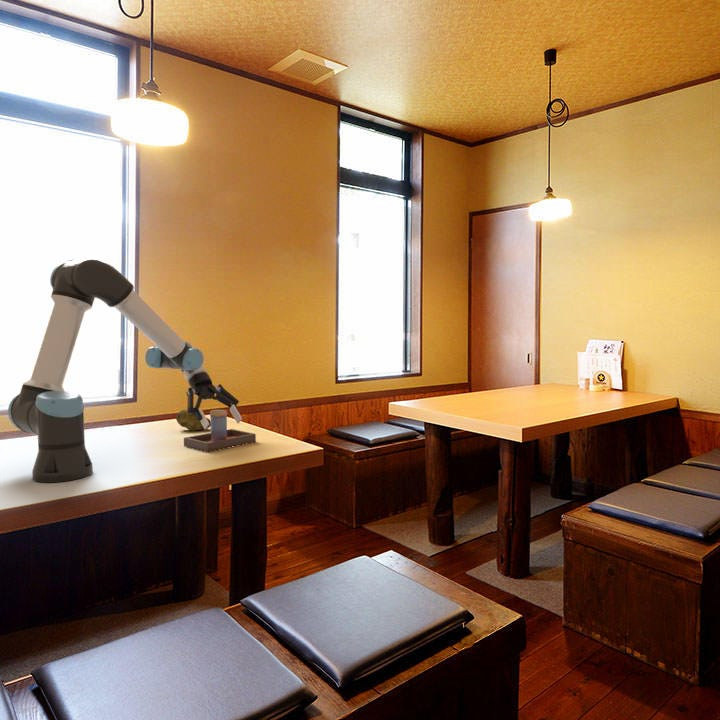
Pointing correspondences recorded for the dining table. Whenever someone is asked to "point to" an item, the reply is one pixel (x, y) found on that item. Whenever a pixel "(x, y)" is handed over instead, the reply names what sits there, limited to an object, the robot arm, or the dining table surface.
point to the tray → (232, 439)
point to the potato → (189, 421)
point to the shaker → (218, 425)
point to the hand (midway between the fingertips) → (223, 423)
